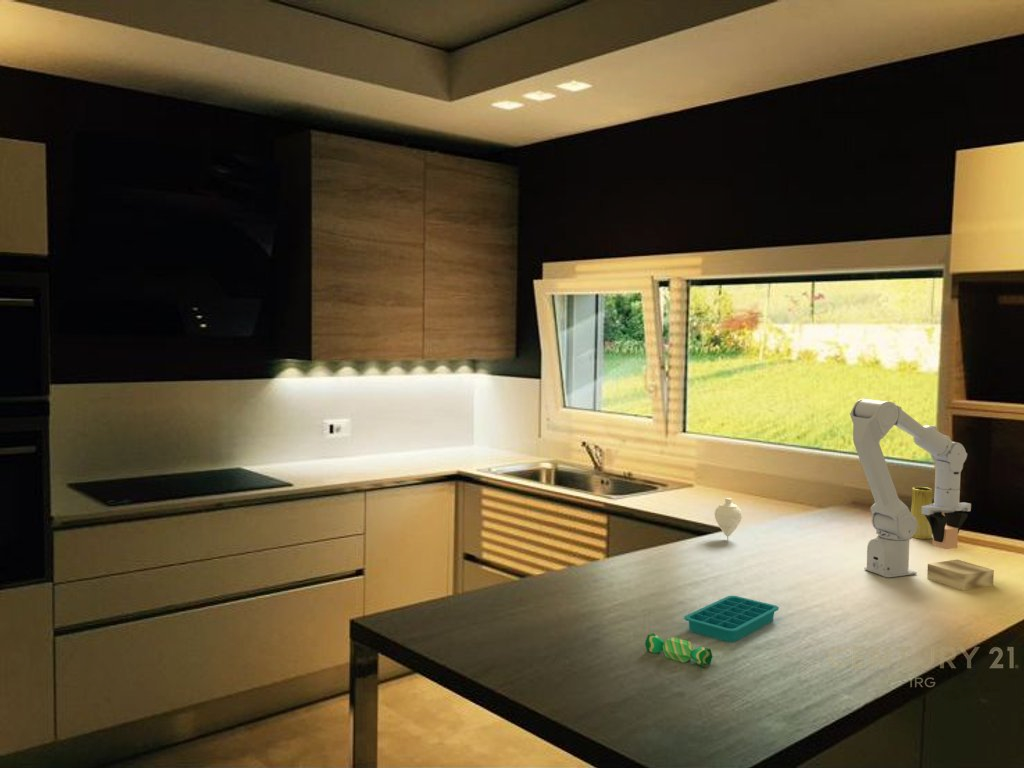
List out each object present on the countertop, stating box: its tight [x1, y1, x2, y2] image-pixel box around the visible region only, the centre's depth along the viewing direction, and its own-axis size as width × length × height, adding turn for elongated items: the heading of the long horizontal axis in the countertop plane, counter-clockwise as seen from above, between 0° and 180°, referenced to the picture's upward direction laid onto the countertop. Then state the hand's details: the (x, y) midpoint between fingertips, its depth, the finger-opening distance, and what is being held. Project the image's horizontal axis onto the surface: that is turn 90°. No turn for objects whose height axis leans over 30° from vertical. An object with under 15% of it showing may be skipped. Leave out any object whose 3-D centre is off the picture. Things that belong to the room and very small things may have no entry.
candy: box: [644, 632, 713, 668], centre depth 159 cm, size 12×3×4 cm
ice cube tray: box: [683, 595, 779, 643], centre depth 176 cm, size 12×20×3 cm, turn 137°
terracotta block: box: [932, 524, 959, 550], centre depth 218 cm, size 4×4×5 cm
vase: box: [910, 486, 933, 540], centre depth 249 cm, size 6×6×14 cm
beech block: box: [926, 559, 995, 591], centre depth 206 cm, size 10×10×4 cm
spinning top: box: [714, 497, 743, 540], centre depth 246 cm, size 8×8×12 cm
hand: (945, 540), depth 218 cm, fingers closed on terracotta block, 4 cm apart
